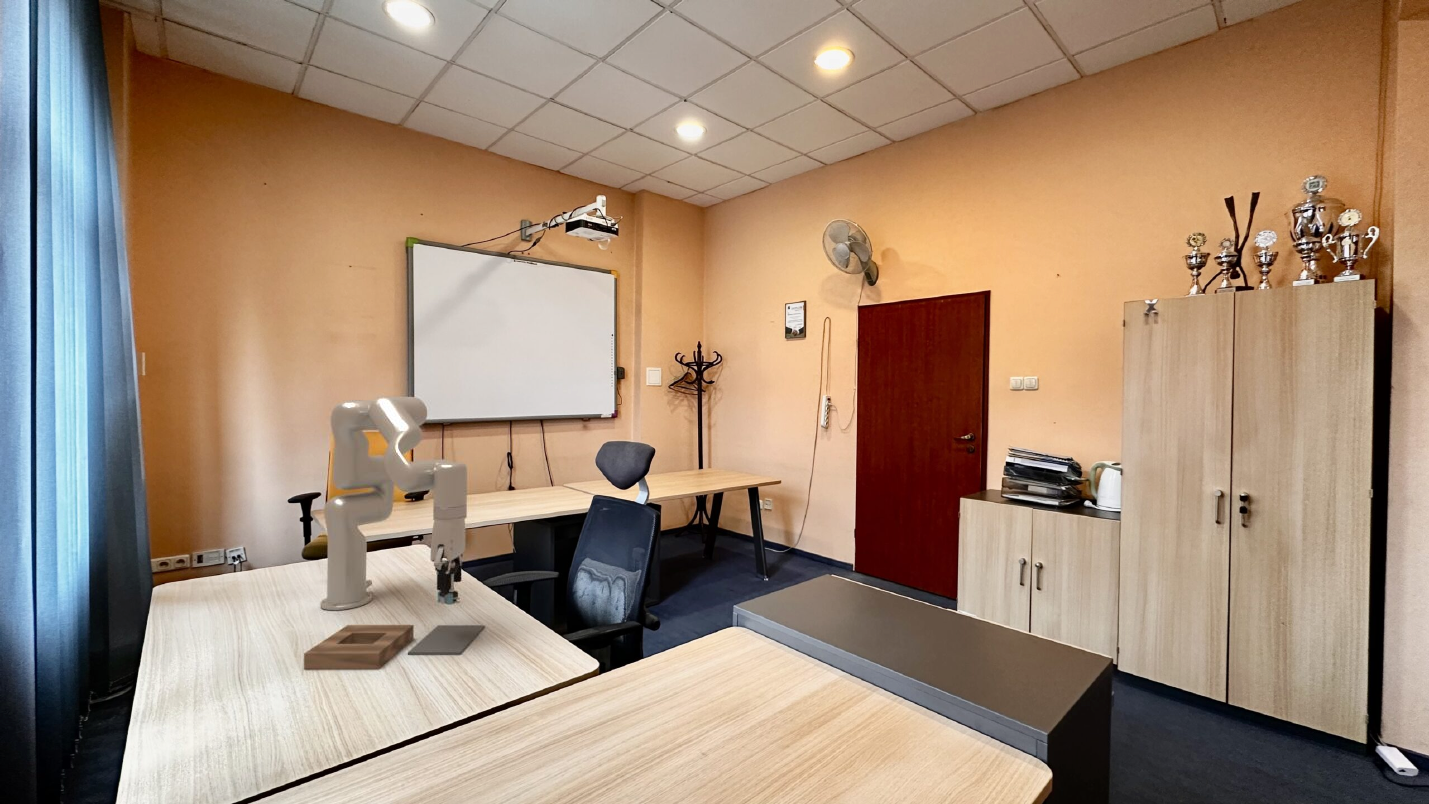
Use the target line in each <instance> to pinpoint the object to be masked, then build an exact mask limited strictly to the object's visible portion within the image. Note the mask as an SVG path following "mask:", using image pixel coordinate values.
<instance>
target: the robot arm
mask: <svg viewBox="0 0 1429 804" xmlns="http://www.w3.org/2000/svg"><path fill="white" fill-rule="evenodd" d="M427 419H428V410H427V406H426V405H425V402H424V401H422V400H421V399H420V398H418V397H414V396H382V397H378V398H376V399H373V400H363V399H362V400H347V401H342V402H339V403H338V404H336V405H335V406H334V408H333V409H332V411H331V415H330V428H331V432H332V434H333V435H332V436H333V440H334V447H333V448H334V449H333V461H332V462H333V464H332V465H333V466H332V482H333V486H334V487H335V488H336V489H338V490H340V491H354V490H362V489H370V488H371V489H370V491H369V490H368V491H361V492H352V493H345V494H339V495H335V496H333V497H332V498H331V497H330V499H329V500H328V501H326V503H325V504H324V507H323V515H324V516H323V517H324V520H325V525H326V533H327V571H326V572H327V573H326V574H327V581H326V582H327V584H326V585H327V587H326V589H327V590H326V592H327V593H326V598H323V600H321V602H320V608H322V609H323V610H326V611H341V610H350V609H353V608H358V607H361V606H363V605H366V604H368V603H370V602H371V601H372V600H373V595H372V593H370V592H367V589H368V588H369V587H371V586H372V585H373V581H372V580H371V579H367V546H368V543H367V539H366V536H365V535H364V534H363V533H362V531H360V529H359V528H358V527H360V526H363V525H369V524H375V523H379V522H383V521H384V522H385V521H386V520H387V519H389V518H390V516H391V515H392V513H393V507H394V494H395V487H396V488H397V489H399V490H400V491H402V492H403V493H418V492H423V491H432V490H433V507H432V508H433V511H432V512H433V513H432V514H433V518H432V519H433V525H432V531H431V542H430V561H431V562H432V563H433V566H434V569H435V568H436V570H437V571H436V570H435V571H436V572H435V573H436V589H437V591H440V590H450V589H451V573H450V567H451V561H455V563H456V564H458V565H459V567H458V568H457V573H455V574H454V583H460V582H461V581H462V569H463V568H462V566H463V554H464V553H465V551H466V541H467V540H466V538H467V537H466V536H467V535H466V522H465V519H467V516H468V515H467V514H468V512H467V509H468V500H467V499H468V467H467V465H466V464H465V463H463V462H457V461H454V462H453V461H451V460H449V459H439V458H438V459H428V460H427V459H426V460H416V461H415V460H414V461H408V460H407V459H406V457H405V456H404V455H405V454H406V453H409V452H410V451H411V450H413V449H415V448H416V447H417V446H418V445H419V444H421V441H422V439H423V431H422V428H421V427H420V426H422V425H423V424H425V422H426V420H427ZM364 431H378V432H379V433H380V435H381V436H382V438H383V440H384V441H385V442H386V443H387V446H386V448H385V450H384V451H385V452H384V455H382V454H376V455H370V451H369V450H370V441H369V438H368V437H367V435H366V433H365V432H364ZM443 563H447V566H445V565H443Z"/></svg>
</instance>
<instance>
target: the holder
mask: <svg viewBox="0 0 1429 804" xmlns="http://www.w3.org/2000/svg"><path fill="white" fill-rule="evenodd" d="M414 631H415V627H414V624H346V625H345V626H344V627H342V628H341V629H339V630H338V631H336V632H335V633H333V634H331V635H330V636H329V637H327V638H326V639H324V640H323V641H321V642H319V643H317V645H315V646H313V647H312V648H310V649H309V650H307V651H306V652H304V653H303V654H304V655H303V670H380V668H381V667H383V666H384V665H385V664H386V663H387V662H388V661H389V660H391V659H392V658H393V657H394V656H395V655H397V654H398V653H399V652H400V651H402V649H403V648H404V647H406V646H407V645H408V644H410V643H411V642H412V641H414V637H415V636H414V633H415V632H414Z"/></svg>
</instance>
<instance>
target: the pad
mask: <svg viewBox="0 0 1429 804" xmlns="http://www.w3.org/2000/svg"><path fill="white" fill-rule="evenodd" d="M485 628H486V626H485V624H482V625H480V624H477V625H476V624H475V625H471V624H470V625H469V624H468V625H467V624H466V625H465V624H464V625H463V624H456V625H455V624H454V625H453V624H450V625H449V624H448V625H446V624H445V625H443V624H441V625H439V624H438V625H437V626H436V627H435V628H433V629H432V630H431V631H430V632H429V633H428V634H427V635H426V636H424V637H423V638H422V639H421V640H420V641H419V642H418V643H416V645H414V646H413V647H412V648H411V649H410V650H409V651H408V652H407V656H443V655H444V656H458V655H459V656H460V655H461V654H462V653H463V652H465V650H466V649H467V647H469V645H471V643H472V642H473V641H474V640H475V639H476V638H477V637H478V636H479V635H480V634H481V632H483V630H485Z"/></svg>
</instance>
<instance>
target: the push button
mask: <svg viewBox="0 0 1429 804" xmlns="http://www.w3.org/2000/svg"><path fill="white" fill-rule="evenodd" d="M443 565H445V566H447V563H443ZM459 566H460V565H458V564H456V563H455V561H451V567H450V573H451V589H450V590H438V591H437V603H440V604H441V605H444V604H445V605H448V606H449V605H450V606H451V605H454V604H460V603H461V601H458V600H460V599H461V597H459V592H458V591H456V590H455V587H454V586H455V585H454V583H455V582H454V574H455V573H457V568H458V567H459ZM434 570H435V571H437V570H436V568H435V567H434Z"/></svg>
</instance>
